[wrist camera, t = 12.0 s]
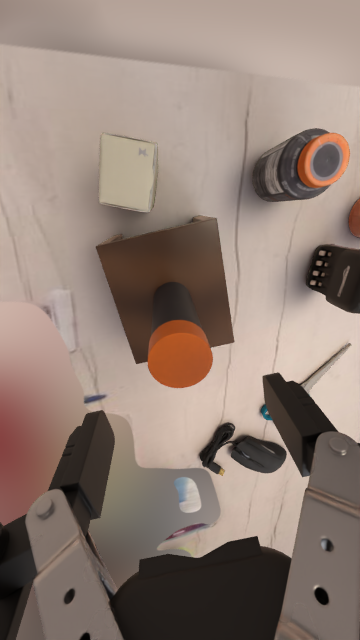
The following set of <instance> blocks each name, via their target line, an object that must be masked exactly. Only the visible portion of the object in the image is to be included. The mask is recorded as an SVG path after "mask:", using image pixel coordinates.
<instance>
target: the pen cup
mask: <svg viewBox="0 0 360 640" xmlns="http://www.w3.org/2000/svg"><path fill="white" fill-rule="evenodd" d="M349 228H350V230H351V232H352V234H353V235H354V236H356V237H358V238H360V199H358V201H357V202H356V203H355V204H354V206H353V208H352V210H351V212H350V215H349Z"/></svg>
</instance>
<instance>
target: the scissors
mask: <svg viewBox="0 0 360 640" xmlns="http://www.w3.org/2000/svg"><path fill="white" fill-rule="evenodd" d="M351 345H352V344H350V343H349V344H348V345H347V346H346V347H345V348H343V349H342V350H341V351H340V352H339V353H338V354H337V355H336V356H334V357H333V358H332V359H331V360H330V361H329V362H328V363H326V364H325V365H324V366H323V367H322V368H321V369H320V370H318V371H317V372H316V373H315V374H314V375H313V376H311V377H310V378H309V379H308V380H307V381H306V382H304V383H303V384H302V385H301V386H302V387H303V388H304V389H305V390H306V392H307V393H309V391H310V390H311V388H312V387H313V386H314V385H315V384H316V383H317V382H318V381H319V379H320V378H321V377H322V376H323V375H324V374H325V373H326V372H327V371H328V370H329V369H330V367H331V366H332V365H333V364H334V363H335V362H336V361H337V360H338V359H339V358H340V357H341V356H342V355H343V354H344V353H345V351H346V350H347V349H348V348H349V347H350V346H351ZM266 412H267V407H266V404H265V405H264V406H263V408H262V409H261V413H262V415H263V417H264V418H265V419H266V420H272V418H271V416H270V415H266V414H265V413H266Z"/></svg>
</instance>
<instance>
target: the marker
mask: <svg viewBox="0 0 360 640" xmlns="http://www.w3.org/2000/svg"><path fill="white" fill-rule="evenodd" d="M212 362H213V356H212V351H211V348H210V346H209V343H208V340H207V337H206V335H205V333H204V331H203V330H202V327H201V324H200V321H199V318H198V315H197V312H196V310H195V307H194V304H193V301H192V298H191V295H190V292H189V291H188V289H187V288H186V287H185V286H184V285H182V284H180V283H178V282H168V283H165V284H163V285H161V286H160V287H159V288H158V289H157V290H156V292H155V295H154V303H153V316H152V330H151V338H150V341H149V349H148V368H149V371H150V373H151V374H152V376H153V377H154V378H155V379H156V380H157V381H158V382H160V383H161V384H163V385H165V386H168V387H173V388H185V387H189V386H192V385H195V384H197V383H198V382H200V381H201V380H202V379H204V378H205V377H206V375H207V374H208V373H209V371H210V369H211V366H212Z"/></svg>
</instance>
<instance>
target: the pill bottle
mask: <svg viewBox="0 0 360 640" xmlns="http://www.w3.org/2000/svg"><path fill="white" fill-rule="evenodd" d="M349 157H350V150H349V146H348V143H347V141H346V140H345V138H344V137H343V136H341V135H339V134H336V133H329V132H328V131H326V130H323V129H317V128H315V129H309V130H305V131H303V132H301V133H299V134H297V135H295V136H293V137H291V138H290V139H288V140H286V141H285V142H283V143H281V144H279V145H278V146H276V147H274V148H272V149H270V150H269V151H267V152H266V153H265V154H263V155H262V156H261V157H260V159H259V160H258V161H257V163H256V165H255V168H254V171H253V186H254V189H255V191H256V193H257V194H258V195H259V196H260V197H261V198H262V199H264V200H266V201H270V202H278V201H292V200H304V199H310V198H314V197H316V196H318V195H319V194H321V193H322V192H324V191H325V190H326V189H327V188H328V187H329V186H330V185H331V184H332V183H334V182H335V181H337V180H338V179H339V178H340V177H341V176H342V174H343V173H344V172H345V170H346V168H347V165H348V162H349Z"/></svg>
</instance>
